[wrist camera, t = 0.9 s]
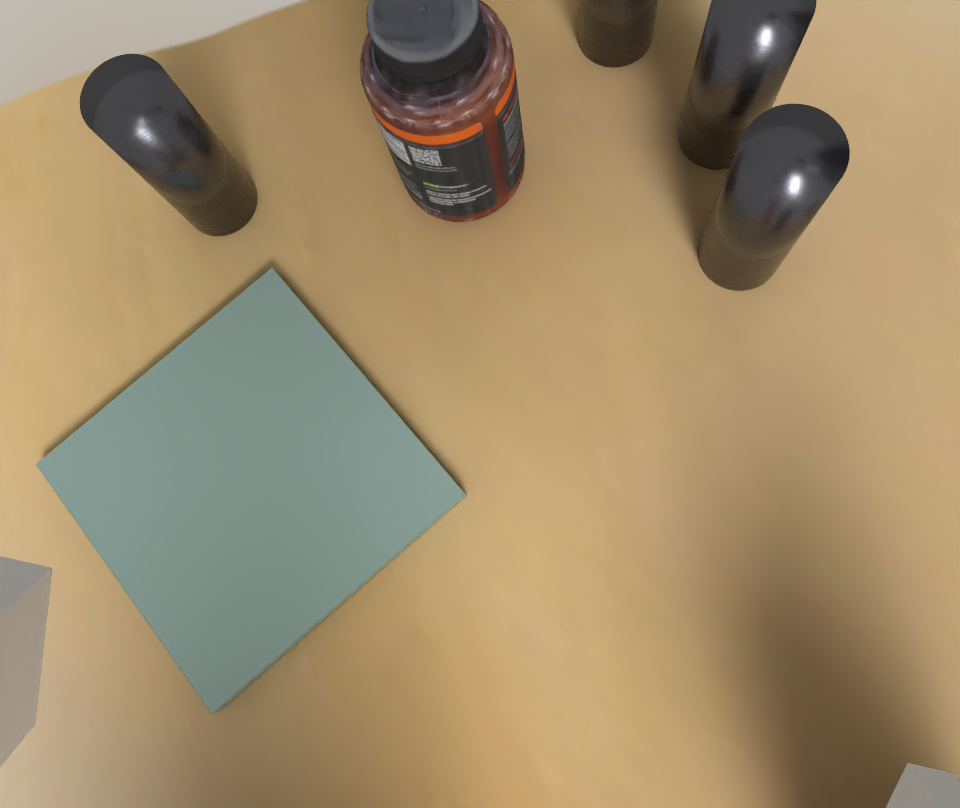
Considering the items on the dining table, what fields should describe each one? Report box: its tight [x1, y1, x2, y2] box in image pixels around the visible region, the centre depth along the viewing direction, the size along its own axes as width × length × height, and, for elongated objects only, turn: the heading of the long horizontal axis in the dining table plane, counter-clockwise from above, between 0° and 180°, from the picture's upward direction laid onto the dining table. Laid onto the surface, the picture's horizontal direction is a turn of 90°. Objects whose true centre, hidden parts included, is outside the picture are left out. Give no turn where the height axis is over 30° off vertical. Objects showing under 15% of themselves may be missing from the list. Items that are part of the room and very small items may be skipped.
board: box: [36, 268, 467, 713], centre depth 36 cm, size 14×14×1 cm
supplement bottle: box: [360, 0, 525, 222], centre depth 33 cm, size 6×6×11 cm
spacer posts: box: [80, 0, 850, 291], centre depth 34 cm, size 23×22×9 cm
